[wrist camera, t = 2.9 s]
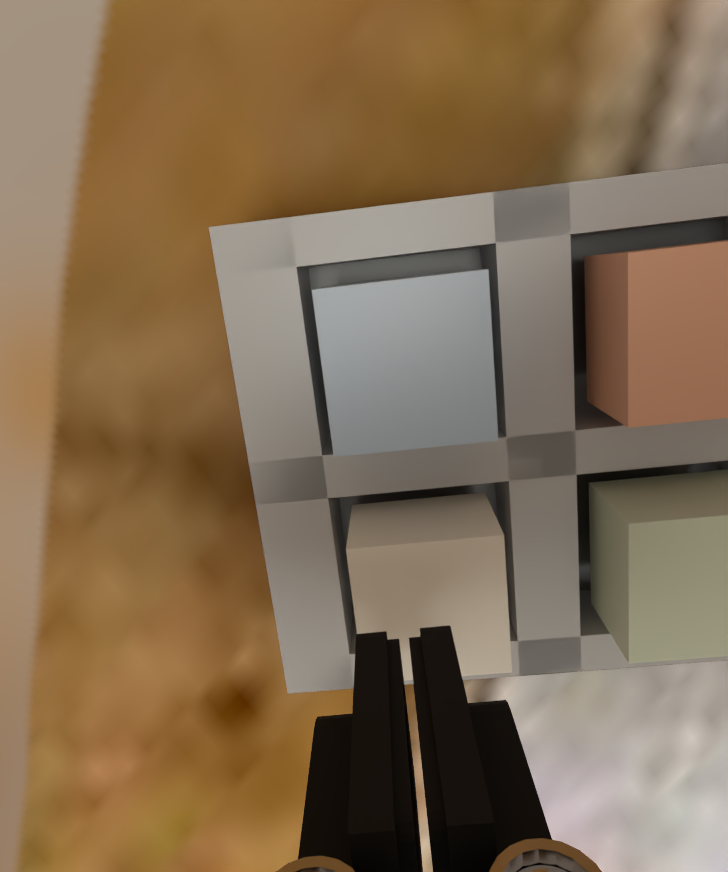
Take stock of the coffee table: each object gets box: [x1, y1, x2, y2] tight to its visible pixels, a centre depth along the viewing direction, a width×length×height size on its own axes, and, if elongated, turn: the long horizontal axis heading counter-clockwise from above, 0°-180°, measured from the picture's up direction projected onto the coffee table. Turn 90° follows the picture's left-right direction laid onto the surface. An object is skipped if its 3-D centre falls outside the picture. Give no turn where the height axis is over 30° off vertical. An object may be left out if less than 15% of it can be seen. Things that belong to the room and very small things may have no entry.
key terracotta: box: [584, 240, 728, 428], centre depth 13 cm, size 3×3×3 cm
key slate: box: [312, 269, 499, 457], centre depth 13 cm, size 3×3×3 cm
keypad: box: [209, 163, 728, 693], centre depth 16 cm, size 14×12×3 cm
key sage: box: [589, 470, 728, 664], centre depth 14 cm, size 3×3×3 cm
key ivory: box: [346, 492, 512, 681], centre depth 15 cm, size 3×3×3 cm
